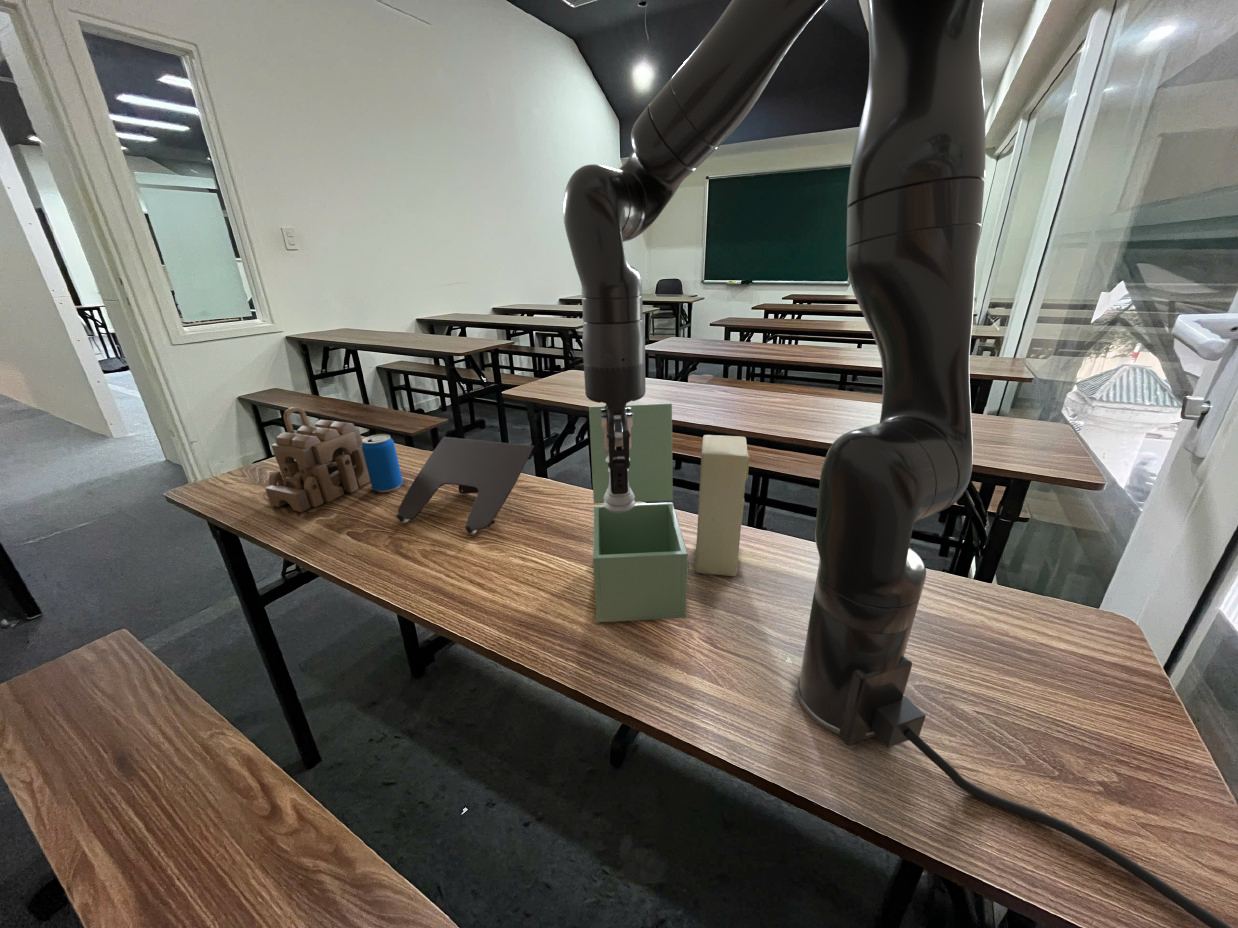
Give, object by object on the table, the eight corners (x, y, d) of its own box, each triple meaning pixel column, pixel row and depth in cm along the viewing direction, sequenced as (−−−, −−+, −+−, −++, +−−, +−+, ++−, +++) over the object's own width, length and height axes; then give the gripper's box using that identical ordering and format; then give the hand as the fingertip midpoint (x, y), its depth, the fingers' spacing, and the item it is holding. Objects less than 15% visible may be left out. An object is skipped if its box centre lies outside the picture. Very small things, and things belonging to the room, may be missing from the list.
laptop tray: (404, 539, 100) (381, 514, 93) (456, 457, 114) (439, 430, 107) (501, 556, 93) (483, 531, 86) (543, 466, 107) (531, 438, 100)
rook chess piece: (640, 510, 65) (640, 455, 62) (610, 517, 63) (607, 461, 60) (628, 496, 69) (626, 444, 66) (598, 502, 67) (595, 450, 64)
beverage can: (375, 483, 112) (362, 435, 107) (404, 479, 113) (394, 432, 109) (370, 495, 106) (357, 445, 101) (402, 491, 108) (390, 441, 103)
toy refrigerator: (741, 578, 76) (752, 455, 67) (694, 573, 77) (700, 453, 69) (740, 550, 83) (750, 436, 74) (697, 546, 84) (702, 434, 76)
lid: (671, 403, 73) (667, 400, 77) (588, 406, 72) (589, 403, 77) (672, 500, 76) (668, 491, 81) (593, 503, 76) (594, 494, 81)
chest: (685, 618, 68) (688, 554, 63) (596, 622, 67) (592, 558, 63) (671, 558, 81) (672, 502, 77) (597, 561, 81) (593, 505, 76)
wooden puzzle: (308, 514, 99) (280, 429, 91) (261, 503, 104) (231, 422, 97) (391, 472, 118) (373, 398, 110) (347, 465, 123) (328, 394, 115)
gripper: (651, 369, 52) (652, 509, 59) (639, 347, 65) (641, 464, 72) (582, 372, 52) (590, 513, 58) (584, 350, 65) (591, 467, 71)
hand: (618, 485), depth 65 cm, fingers closed on rook chess piece, 3 cm apart
